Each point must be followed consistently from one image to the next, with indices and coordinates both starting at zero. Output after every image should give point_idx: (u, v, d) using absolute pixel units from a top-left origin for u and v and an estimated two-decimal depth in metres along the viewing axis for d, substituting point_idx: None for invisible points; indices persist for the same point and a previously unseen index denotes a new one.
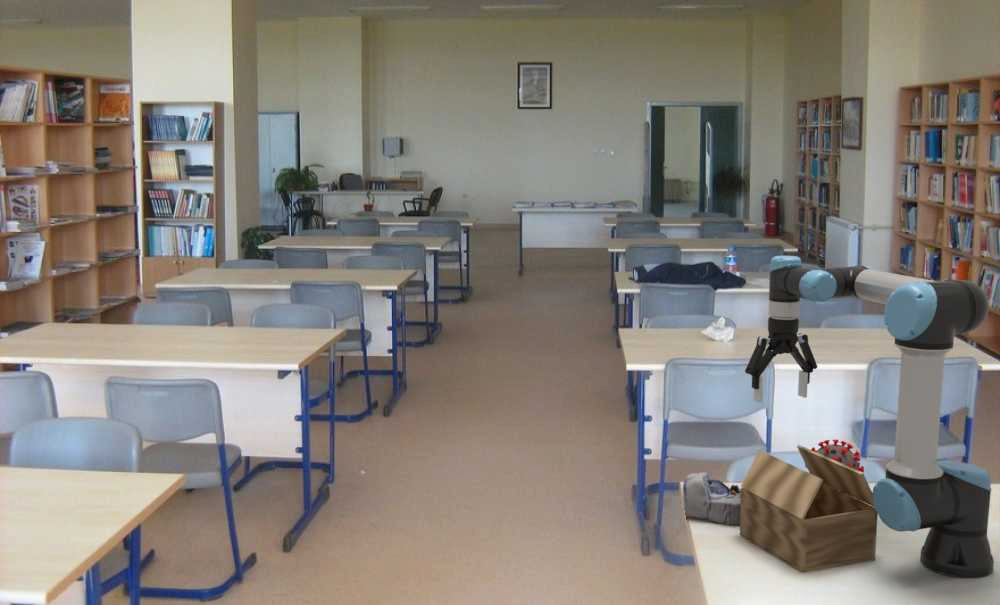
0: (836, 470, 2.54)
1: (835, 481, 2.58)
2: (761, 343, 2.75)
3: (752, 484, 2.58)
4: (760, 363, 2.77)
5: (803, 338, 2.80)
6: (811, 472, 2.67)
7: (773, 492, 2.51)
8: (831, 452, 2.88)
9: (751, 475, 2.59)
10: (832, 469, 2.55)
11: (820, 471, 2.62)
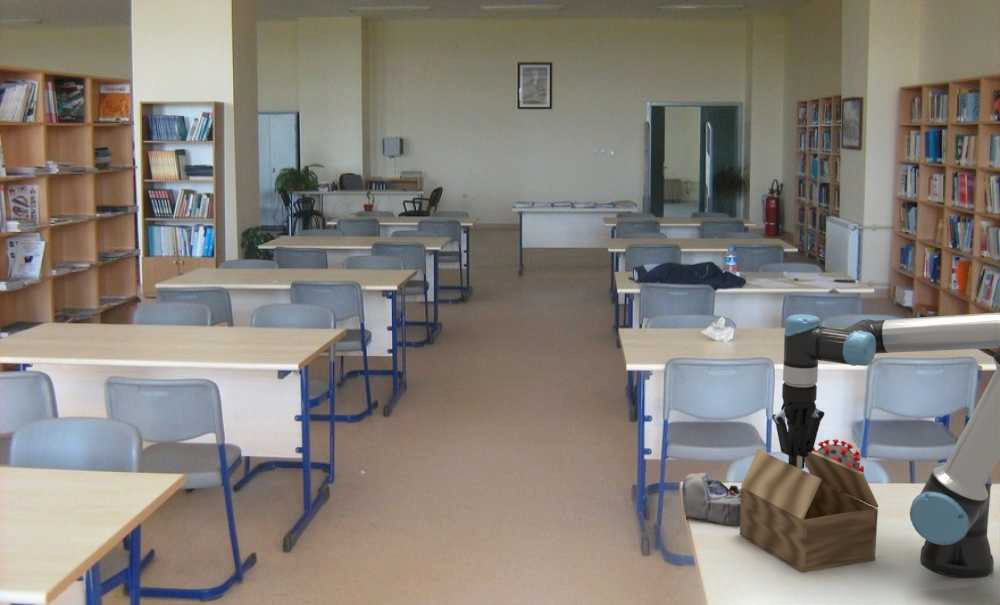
0: (836, 470, 2.54)
1: (835, 481, 2.58)
2: (779, 423, 2.47)
3: (752, 484, 2.58)
4: (790, 441, 2.50)
5: (819, 413, 2.50)
6: (811, 472, 2.67)
7: (773, 492, 2.50)
8: (831, 452, 2.88)
9: (750, 475, 2.59)
10: (832, 469, 2.55)
11: (820, 471, 2.62)
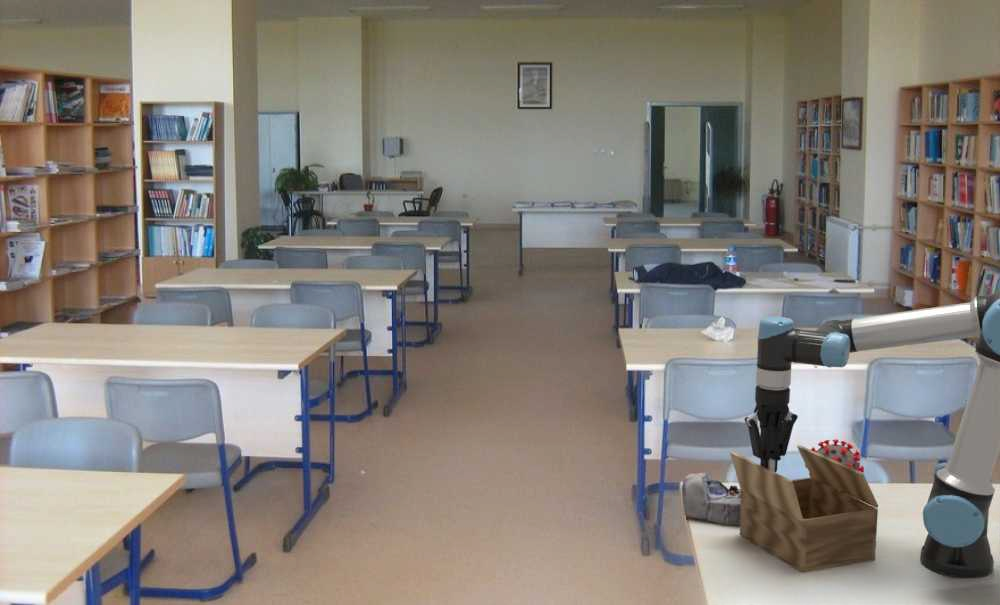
0: (836, 470, 2.54)
1: (835, 481, 2.58)
2: (751, 426, 2.45)
3: (747, 486, 2.57)
4: (762, 444, 2.48)
5: (792, 416, 2.48)
6: (811, 472, 2.67)
7: (766, 494, 2.50)
8: (831, 452, 2.88)
9: (740, 477, 2.58)
10: (832, 469, 2.55)
11: (820, 471, 2.62)
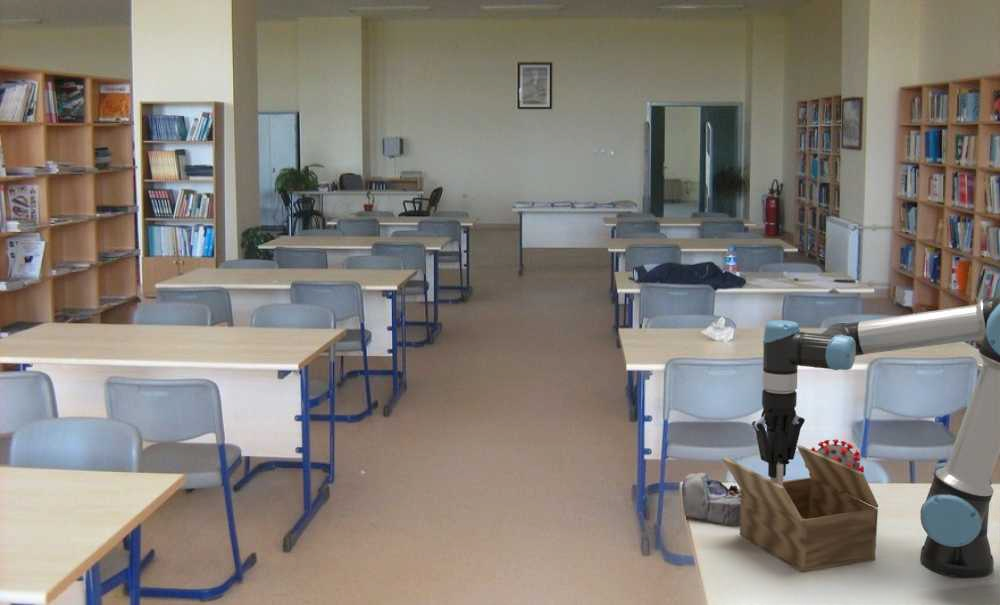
0: (836, 470, 2.54)
1: (835, 481, 2.58)
2: (759, 430, 2.45)
3: (745, 488, 2.57)
4: (770, 449, 2.48)
5: (799, 420, 2.49)
6: (811, 472, 2.67)
7: (764, 496, 2.50)
8: (831, 452, 2.88)
9: (738, 480, 2.58)
10: (832, 469, 2.55)
11: (820, 471, 2.62)
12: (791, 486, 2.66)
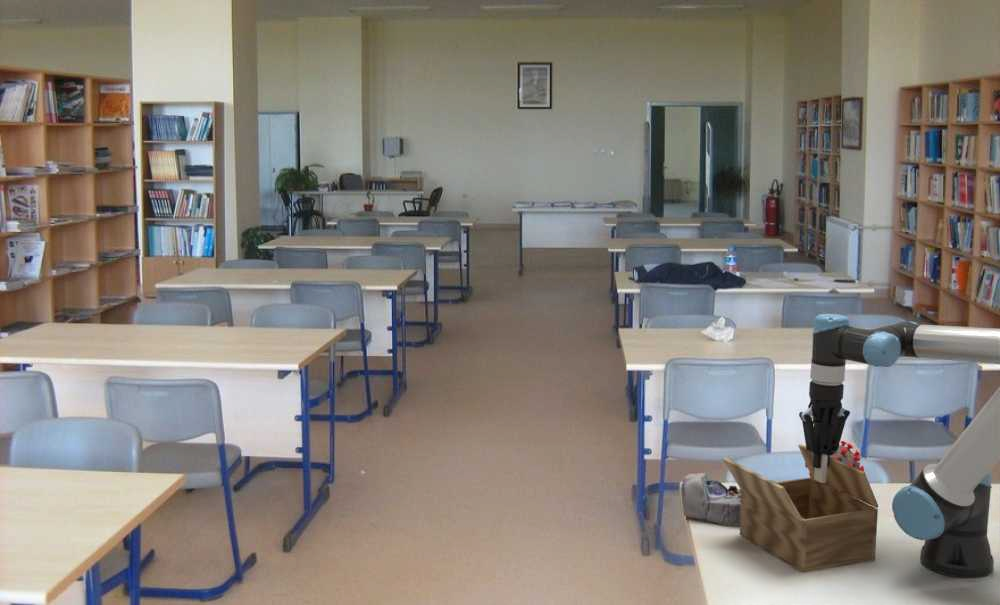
0: (837, 469, 2.54)
1: (835, 481, 2.58)
2: (806, 420, 2.49)
3: (745, 488, 2.57)
4: (816, 439, 2.52)
5: (844, 412, 2.53)
6: (811, 472, 2.67)
7: (764, 496, 2.50)
8: None
9: (738, 480, 2.58)
10: (833, 468, 2.55)
11: None
12: (791, 486, 2.66)
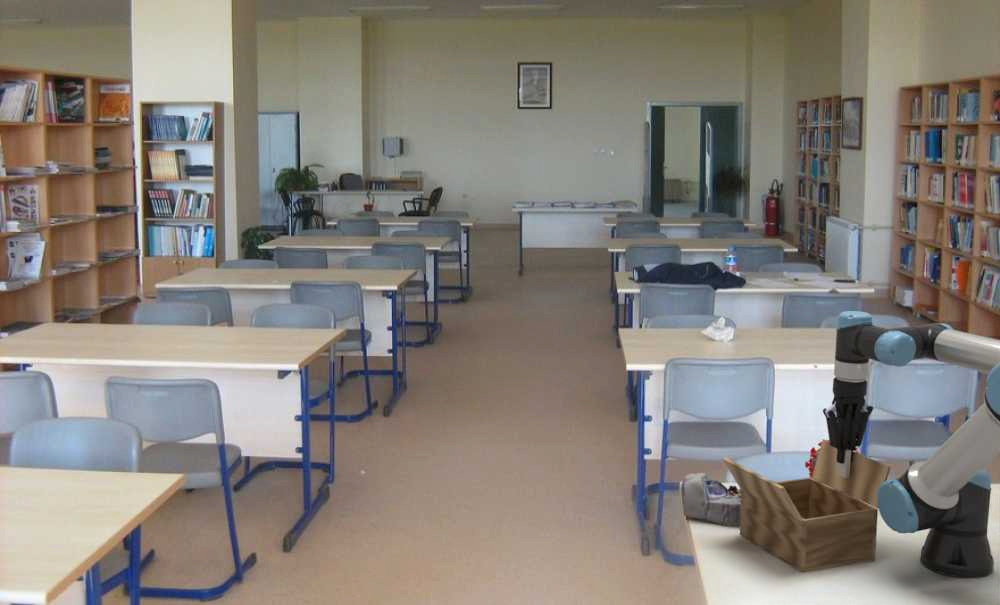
0: (856, 465, 2.56)
1: (843, 479, 2.59)
2: (830, 417, 2.52)
3: (745, 488, 2.57)
4: (839, 435, 2.55)
5: (868, 408, 2.56)
6: (817, 470, 2.67)
7: (764, 496, 2.50)
8: None
9: (738, 480, 2.58)
10: (851, 464, 2.57)
11: (831, 468, 2.63)
12: (791, 486, 2.66)
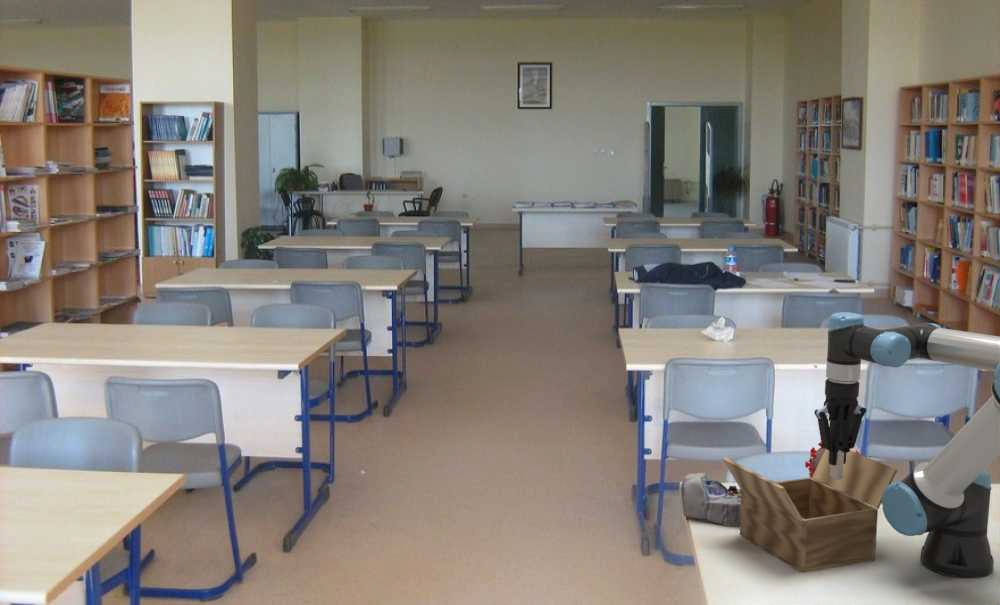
0: (861, 466, 2.56)
1: (845, 479, 2.59)
2: (821, 418, 2.52)
3: (745, 488, 2.57)
4: (831, 437, 2.55)
5: (861, 410, 2.55)
6: (818, 471, 2.67)
7: (764, 496, 2.50)
8: None
9: (738, 480, 2.58)
10: (856, 465, 2.58)
11: None
12: (791, 486, 2.66)
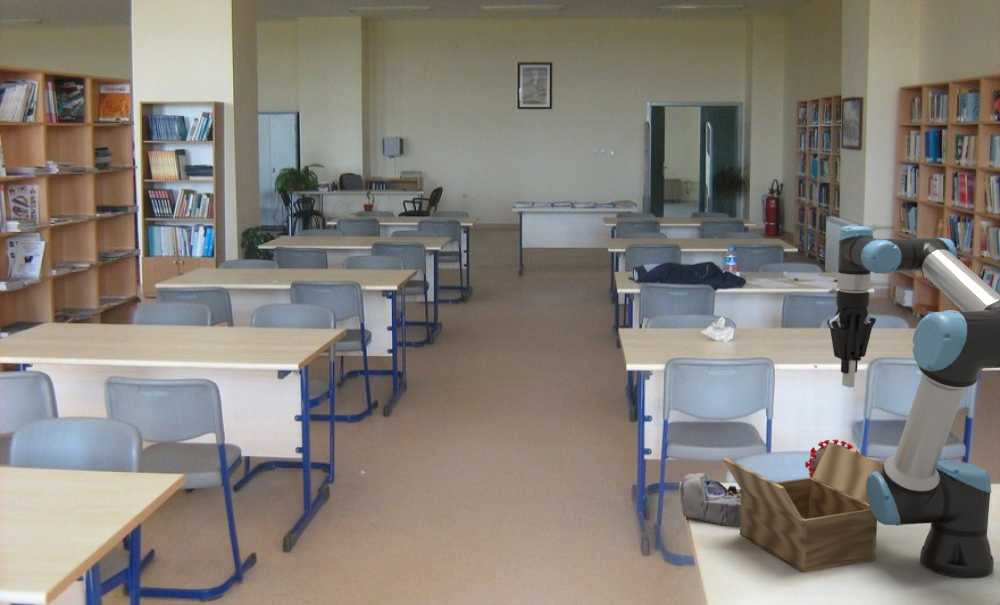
0: (861, 466, 2.56)
1: (845, 480, 2.59)
2: (834, 327, 2.62)
3: (745, 488, 2.57)
4: (843, 346, 2.65)
5: (871, 320, 2.66)
6: (818, 471, 2.67)
7: (764, 496, 2.50)
8: None
9: (738, 480, 2.58)
10: (856, 465, 2.58)
11: (834, 469, 2.63)
12: (791, 486, 2.66)
